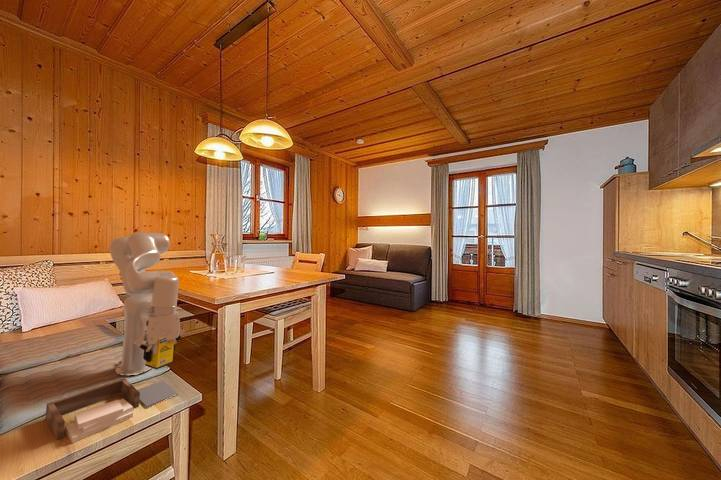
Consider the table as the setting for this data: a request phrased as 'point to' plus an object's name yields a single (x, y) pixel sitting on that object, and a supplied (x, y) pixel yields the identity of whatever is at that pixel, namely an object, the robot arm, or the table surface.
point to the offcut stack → (98, 419)
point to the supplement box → (161, 354)
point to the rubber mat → (155, 393)
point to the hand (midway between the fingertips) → (159, 356)
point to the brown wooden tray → (88, 402)
